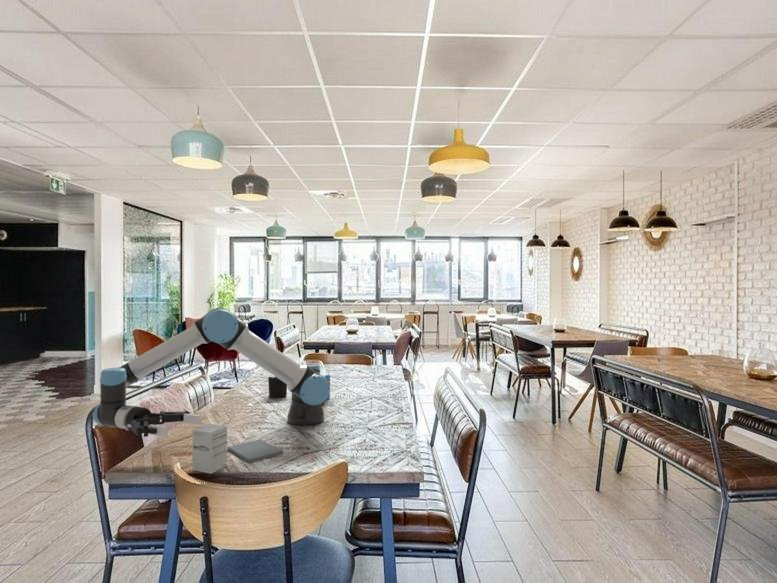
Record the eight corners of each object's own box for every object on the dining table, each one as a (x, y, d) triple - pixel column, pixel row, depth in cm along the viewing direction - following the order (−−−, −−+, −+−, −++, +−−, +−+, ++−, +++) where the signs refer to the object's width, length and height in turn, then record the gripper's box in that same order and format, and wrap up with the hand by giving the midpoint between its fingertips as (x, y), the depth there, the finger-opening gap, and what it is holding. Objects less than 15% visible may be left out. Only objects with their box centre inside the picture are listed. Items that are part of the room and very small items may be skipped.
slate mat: (227, 449, 159) (227, 446, 159) (260, 441, 167) (260, 439, 167) (249, 462, 147) (249, 459, 147) (283, 453, 156) (283, 450, 156)
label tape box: (324, 397, 235) (324, 373, 234) (330, 399, 232) (330, 374, 232) (311, 401, 228) (311, 376, 228) (317, 402, 225) (317, 377, 225)
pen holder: (284, 398, 232) (284, 378, 232) (266, 398, 232) (266, 378, 232) (289, 394, 242) (289, 375, 242) (271, 394, 242) (271, 375, 242)
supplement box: (191, 471, 141) (191, 429, 141) (209, 462, 148) (209, 422, 148) (210, 474, 138) (210, 432, 138) (228, 465, 145) (227, 425, 145)
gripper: (164, 419, 165) (212, 426, 158) (98, 440, 142) (150, 450, 135) (164, 398, 165) (212, 404, 158) (98, 416, 142) (150, 424, 135)
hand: (184, 425), depth 146 cm, fingers open, 13 cm apart
